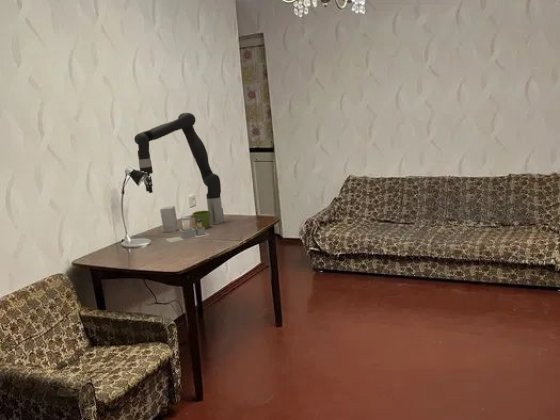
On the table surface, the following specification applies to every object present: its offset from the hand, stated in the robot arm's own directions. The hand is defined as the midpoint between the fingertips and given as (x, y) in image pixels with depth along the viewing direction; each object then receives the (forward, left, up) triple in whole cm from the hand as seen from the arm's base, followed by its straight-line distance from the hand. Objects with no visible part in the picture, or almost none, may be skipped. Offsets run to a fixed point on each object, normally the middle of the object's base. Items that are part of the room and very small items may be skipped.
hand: (149, 192), depth 327 cm
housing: (-14, +27, -28) cm, 41 cm away
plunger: (-22, +27, -24) cm, 42 cm away
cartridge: (-14, +27, -26) cm, 40 cm away
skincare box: (-11, -3, -28) cm, 30 cm away
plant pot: (-29, +10, -28) cm, 41 cm away
